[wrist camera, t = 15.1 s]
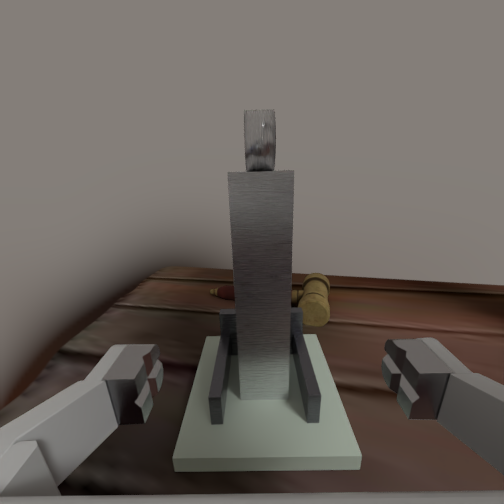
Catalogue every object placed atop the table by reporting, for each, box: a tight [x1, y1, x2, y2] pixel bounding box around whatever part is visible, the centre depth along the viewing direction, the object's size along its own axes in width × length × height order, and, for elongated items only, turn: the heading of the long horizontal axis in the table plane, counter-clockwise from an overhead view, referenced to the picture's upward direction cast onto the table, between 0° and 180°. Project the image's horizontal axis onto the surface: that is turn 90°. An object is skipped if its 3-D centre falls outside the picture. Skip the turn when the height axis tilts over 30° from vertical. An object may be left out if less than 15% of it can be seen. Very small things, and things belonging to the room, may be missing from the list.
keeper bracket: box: [172, 307, 362, 472], centre depth 24 cm, size 14×14×7 cm
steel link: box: [228, 109, 294, 400], centre depth 21 cm, size 4×4×24 cm
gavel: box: [210, 273, 330, 327], centre depth 42 cm, size 21×5×10 cm
